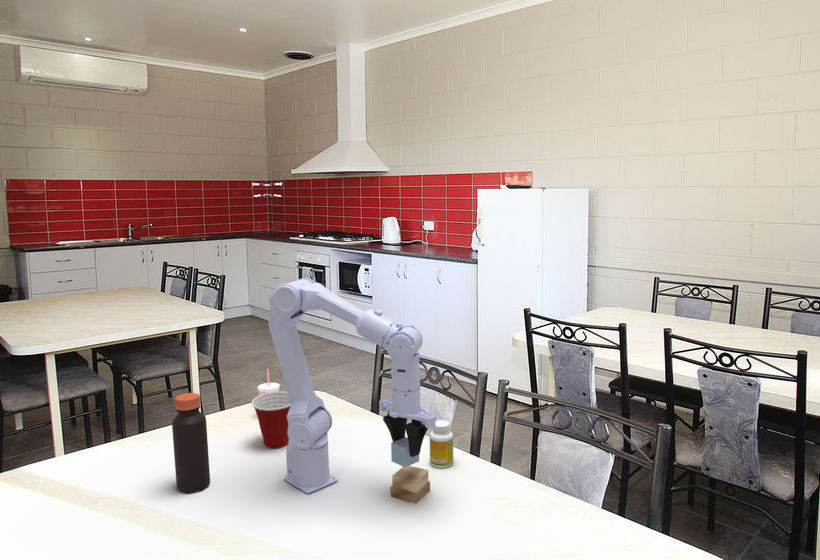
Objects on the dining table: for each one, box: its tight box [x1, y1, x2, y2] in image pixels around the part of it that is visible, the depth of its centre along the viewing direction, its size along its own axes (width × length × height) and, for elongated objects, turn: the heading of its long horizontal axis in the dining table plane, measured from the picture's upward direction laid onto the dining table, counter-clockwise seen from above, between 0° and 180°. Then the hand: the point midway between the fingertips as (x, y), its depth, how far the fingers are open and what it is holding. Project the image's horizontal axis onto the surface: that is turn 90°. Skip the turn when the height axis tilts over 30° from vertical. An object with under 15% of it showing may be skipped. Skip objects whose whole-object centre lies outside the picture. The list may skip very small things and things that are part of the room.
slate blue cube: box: [390, 436, 420, 467], centre depth 119 cm, size 4×4×4 cm
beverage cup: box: [257, 368, 281, 396], centre depth 165 cm, size 6×6×14 cm
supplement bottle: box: [429, 419, 454, 469], centre depth 134 cm, size 5×5×10 cm
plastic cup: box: [251, 390, 291, 449], centre depth 146 cm, size 11×11×12 cm
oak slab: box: [391, 465, 429, 493], centre depth 121 cm, size 6×6×2 cm
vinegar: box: [171, 392, 211, 494], centre depth 124 cm, size 7×7×20 cm
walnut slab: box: [389, 480, 431, 505], centre depth 121 cm, size 6×6×2 cm
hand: (407, 451), depth 119 cm, fingers closed on slate blue cube, 4 cm apart
